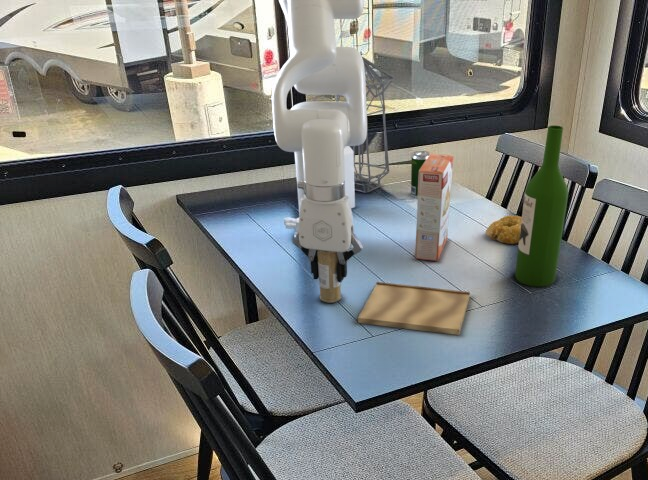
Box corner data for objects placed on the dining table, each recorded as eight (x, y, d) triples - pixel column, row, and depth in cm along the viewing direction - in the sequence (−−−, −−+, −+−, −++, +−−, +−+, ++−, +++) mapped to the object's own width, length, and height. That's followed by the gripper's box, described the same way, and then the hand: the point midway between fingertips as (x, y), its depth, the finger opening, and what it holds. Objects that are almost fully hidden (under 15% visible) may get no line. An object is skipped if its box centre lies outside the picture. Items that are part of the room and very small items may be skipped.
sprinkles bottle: (344, 301, 141) (342, 239, 133) (323, 305, 139) (320, 243, 131) (336, 291, 144) (334, 231, 137) (316, 295, 143) (312, 234, 135)
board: (357, 322, 134) (357, 316, 133) (377, 287, 147) (377, 281, 146) (459, 335, 131) (459, 328, 130) (469, 297, 144) (470, 291, 143)
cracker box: (439, 262, 158) (444, 172, 146) (414, 259, 159) (416, 169, 147) (449, 239, 170) (454, 154, 158) (425, 237, 170) (428, 152, 159)
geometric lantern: (367, 199, 192) (365, 64, 172) (323, 188, 199) (317, 56, 179) (399, 185, 203) (400, 56, 183) (356, 175, 210) (353, 49, 190)
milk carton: (355, 207, 187) (353, 135, 176) (339, 214, 182) (336, 141, 171) (334, 202, 190) (331, 131, 179) (318, 209, 185) (314, 137, 174)
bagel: (484, 229, 176) (485, 211, 173) (526, 231, 176) (529, 213, 173) (486, 244, 168) (487, 226, 165) (531, 246, 168) (533, 227, 165)
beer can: (419, 200, 193) (421, 157, 186) (406, 195, 196) (407, 152, 189) (433, 196, 196) (435, 153, 189) (420, 191, 199) (421, 149, 192)
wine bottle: (507, 273, 154) (524, 123, 136) (541, 267, 158) (562, 120, 139) (527, 289, 148) (548, 134, 129) (562, 283, 151) (587, 131, 132)
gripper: (275, 192, 127) (283, 281, 137) (363, 201, 124) (364, 291, 135) (289, 179, 133) (295, 265, 143) (373, 187, 130) (374, 274, 141)
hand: (329, 277), depth 139 cm, fingers closed on sprinkles bottle, 4 cm apart
